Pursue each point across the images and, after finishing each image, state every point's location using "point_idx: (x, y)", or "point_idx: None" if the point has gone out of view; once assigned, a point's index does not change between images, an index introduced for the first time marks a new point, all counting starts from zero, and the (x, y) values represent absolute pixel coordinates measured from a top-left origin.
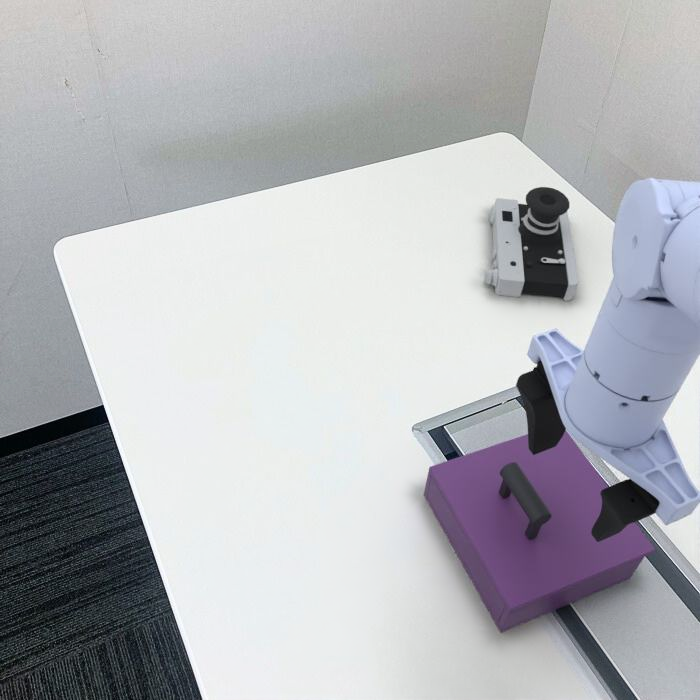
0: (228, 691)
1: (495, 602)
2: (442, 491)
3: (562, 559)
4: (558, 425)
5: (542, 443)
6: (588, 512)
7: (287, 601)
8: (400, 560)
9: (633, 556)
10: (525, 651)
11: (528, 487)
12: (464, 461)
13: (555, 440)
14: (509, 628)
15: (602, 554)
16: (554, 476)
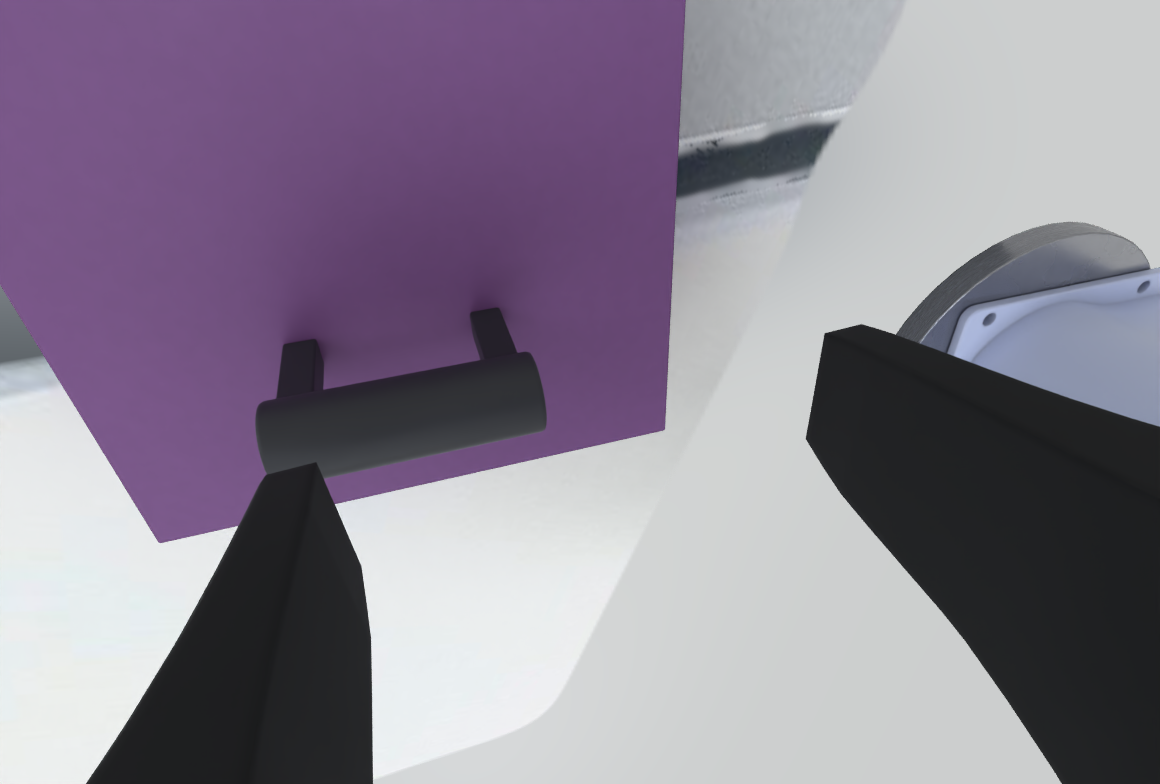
0: (551, 705)
1: None
2: None
3: (594, 254)
4: (316, 685)
5: (353, 617)
6: (446, 59)
7: (435, 663)
8: (391, 505)
9: None
10: (670, 314)
11: (411, 438)
12: (131, 446)
13: (323, 531)
14: None
15: (628, 106)
16: (225, 120)
